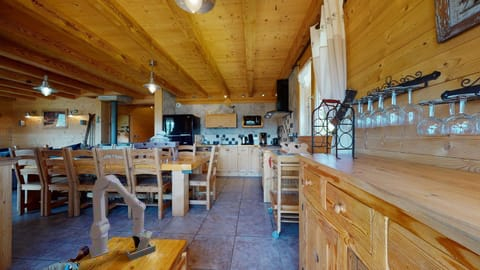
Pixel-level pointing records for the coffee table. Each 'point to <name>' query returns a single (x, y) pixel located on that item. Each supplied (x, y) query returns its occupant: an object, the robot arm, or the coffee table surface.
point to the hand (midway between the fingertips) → (137, 247)
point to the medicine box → (145, 241)
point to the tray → (141, 252)
